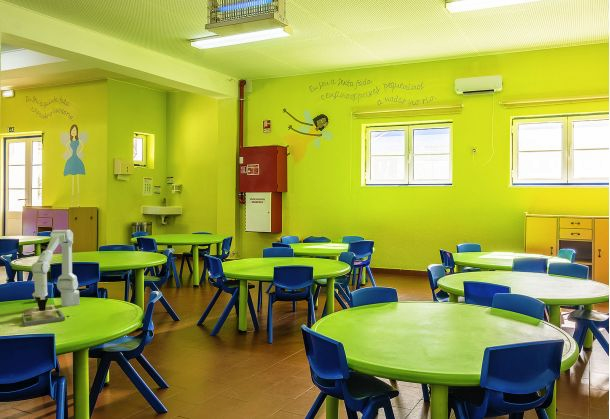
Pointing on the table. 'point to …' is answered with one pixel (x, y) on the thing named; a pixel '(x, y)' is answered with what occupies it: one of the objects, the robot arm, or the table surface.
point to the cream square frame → (43, 313)
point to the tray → (43, 321)
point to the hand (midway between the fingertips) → (41, 311)
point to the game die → (36, 296)
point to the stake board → (26, 311)
